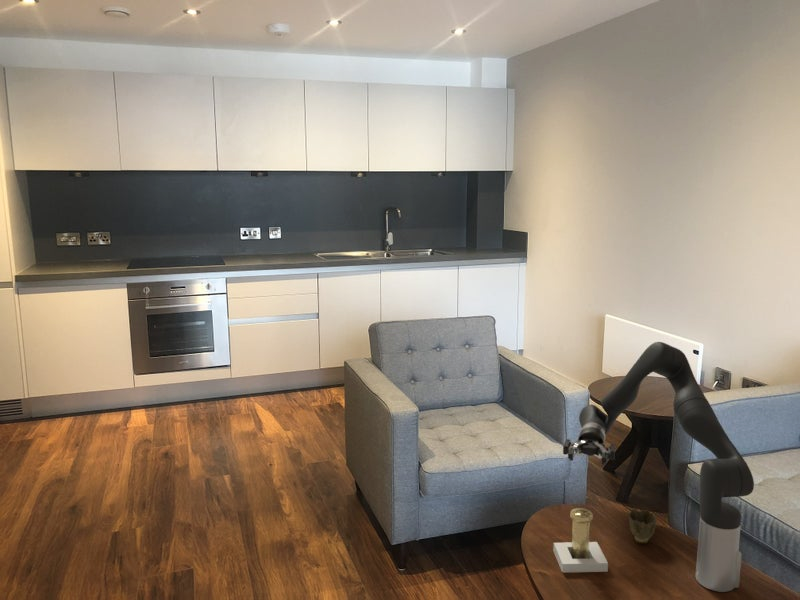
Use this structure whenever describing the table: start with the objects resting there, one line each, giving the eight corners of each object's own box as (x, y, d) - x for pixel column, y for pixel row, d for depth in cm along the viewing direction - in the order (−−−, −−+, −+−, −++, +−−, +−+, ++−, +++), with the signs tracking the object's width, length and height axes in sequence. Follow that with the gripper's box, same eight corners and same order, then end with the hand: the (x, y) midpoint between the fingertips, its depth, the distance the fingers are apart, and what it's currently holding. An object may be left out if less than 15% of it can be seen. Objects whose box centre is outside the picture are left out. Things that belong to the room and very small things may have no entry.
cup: (651, 534, 192) (652, 508, 190) (658, 548, 184) (660, 522, 183) (624, 533, 192) (626, 508, 191) (631, 547, 185) (632, 521, 184)
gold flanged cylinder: (587, 554, 182) (589, 507, 180) (593, 566, 177) (595, 519, 174) (566, 554, 182) (567, 508, 180) (571, 567, 177) (573, 519, 174)
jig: (596, 549, 184) (596, 541, 184) (607, 571, 175) (608, 563, 174) (553, 550, 184) (553, 542, 184) (562, 572, 175) (562, 564, 174)
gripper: (567, 424, 201) (561, 443, 186) (617, 429, 196) (614, 449, 181) (567, 447, 202) (560, 468, 188) (616, 453, 198) (613, 475, 183)
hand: (587, 459), depth 184 cm, fingers open, 8 cm apart
